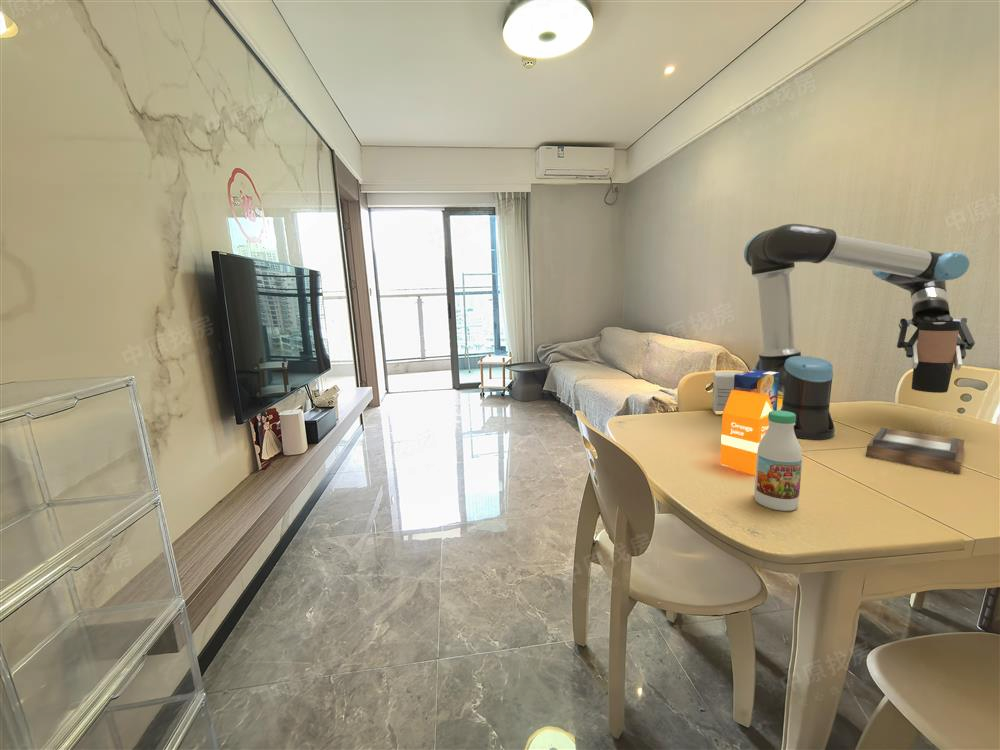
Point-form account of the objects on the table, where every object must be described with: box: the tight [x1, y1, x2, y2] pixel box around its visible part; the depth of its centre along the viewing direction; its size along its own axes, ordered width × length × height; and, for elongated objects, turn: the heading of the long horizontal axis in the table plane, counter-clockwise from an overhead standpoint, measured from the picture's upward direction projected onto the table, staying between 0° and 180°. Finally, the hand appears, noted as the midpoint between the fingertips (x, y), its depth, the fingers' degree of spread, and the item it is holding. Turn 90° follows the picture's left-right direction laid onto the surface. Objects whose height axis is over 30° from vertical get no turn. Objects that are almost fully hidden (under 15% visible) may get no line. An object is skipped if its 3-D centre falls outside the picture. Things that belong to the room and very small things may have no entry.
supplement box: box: [712, 371, 741, 412], centre depth 145 cm, size 9×9×15 cm
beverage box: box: [734, 369, 780, 411], centre depth 110 cm, size 7×11×22 cm, turn 123°
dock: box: [865, 426, 966, 475], centre depth 103 cm, size 16×23×5 cm
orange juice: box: [719, 390, 773, 476], centre depth 99 cm, size 8×9×20 cm
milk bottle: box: [753, 409, 803, 512], centre depth 81 cm, size 8×8×20 cm
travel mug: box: [911, 321, 960, 394], centre depth 111 cm, size 8×8×20 cm
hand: (936, 366), depth 109 cm, fingers closed on travel mug, 8 cm apart
